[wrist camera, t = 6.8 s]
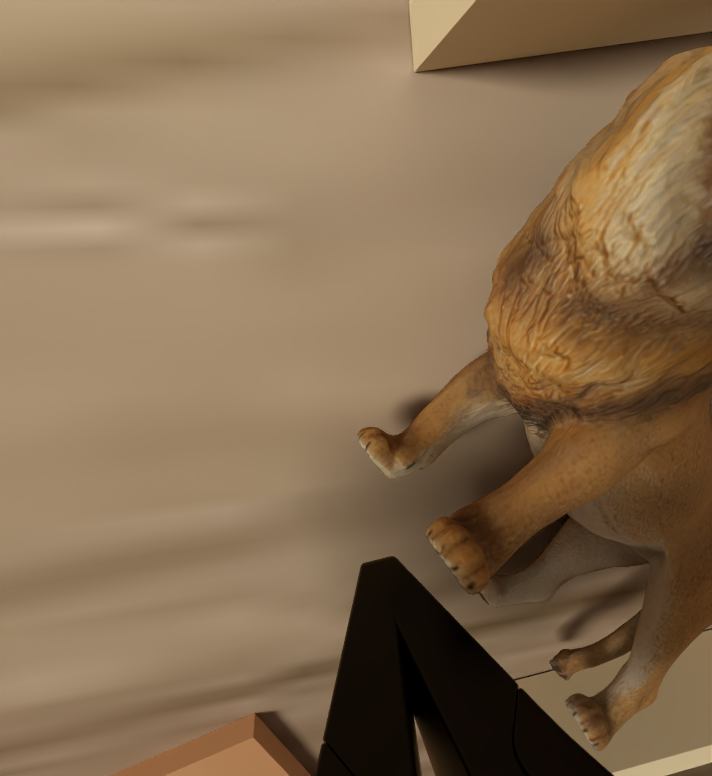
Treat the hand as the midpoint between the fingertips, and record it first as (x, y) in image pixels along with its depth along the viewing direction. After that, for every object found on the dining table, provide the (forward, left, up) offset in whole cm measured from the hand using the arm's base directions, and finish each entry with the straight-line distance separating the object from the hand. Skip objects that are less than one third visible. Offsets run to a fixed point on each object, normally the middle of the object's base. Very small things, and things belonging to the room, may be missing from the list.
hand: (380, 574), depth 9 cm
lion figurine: (-1, -2, 0) cm, 2 cm away
